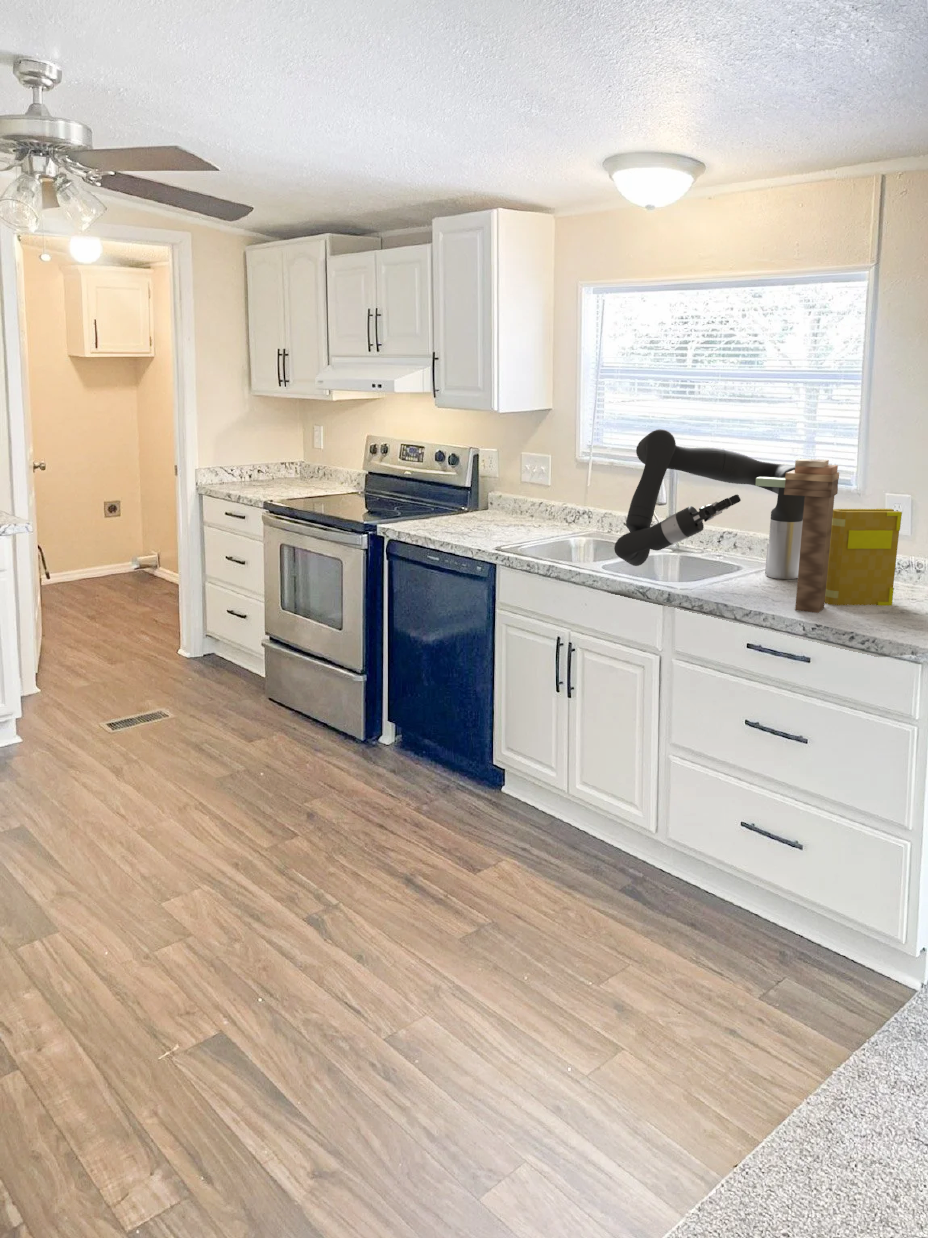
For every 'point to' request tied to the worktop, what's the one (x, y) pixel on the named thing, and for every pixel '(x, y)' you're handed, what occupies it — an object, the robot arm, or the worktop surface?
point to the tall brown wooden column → (813, 527)
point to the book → (862, 556)
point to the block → (770, 482)
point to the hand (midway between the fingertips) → (734, 499)
